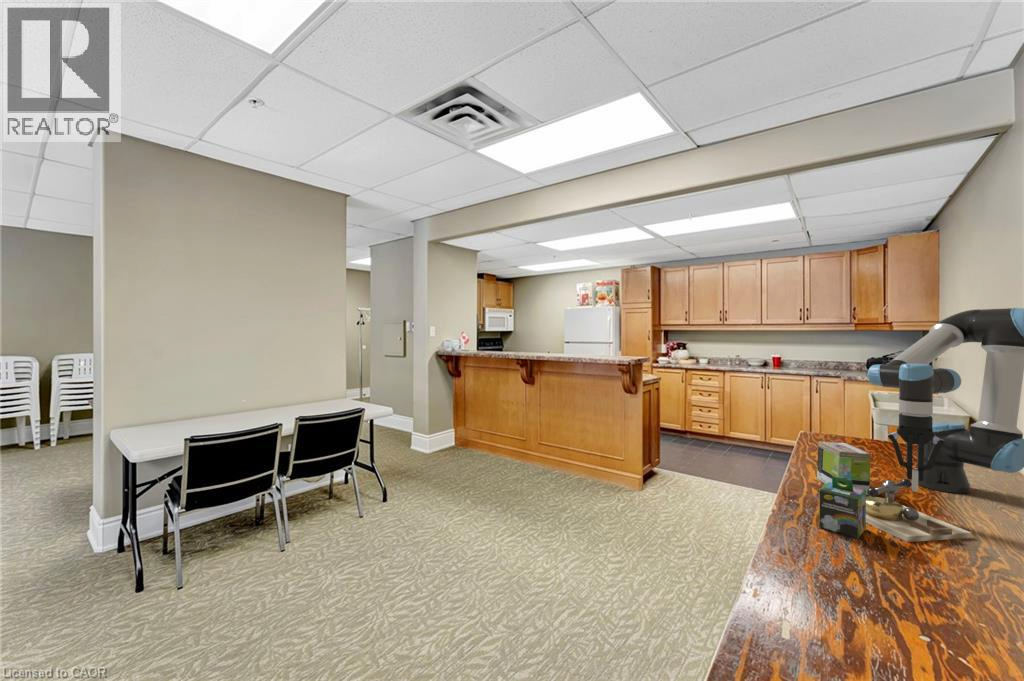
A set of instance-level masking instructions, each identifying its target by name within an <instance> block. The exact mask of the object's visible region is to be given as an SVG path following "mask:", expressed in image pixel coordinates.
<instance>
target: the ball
mask: <svg viewBox="0 0 1024 681" xmlns="http://www.w3.org/2000/svg"><path fill="white" fill-rule="evenodd" d="M917 511H918V510H916V509H915V508H912V507H908V508H905V509H904V510H903V515H904V517H905V518H906V519H908V520H911V521H915V520H917V519H918V518H919V513H918V512H919V511H918V512H917Z"/></svg>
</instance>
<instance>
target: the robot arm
mask: <svg viewBox="0 0 1024 681" xmlns="http://www.w3.org/2000/svg"><path fill="white" fill-rule="evenodd" d="M966 343H981V345H980V347H981V349H983V350H984V351H985V352H986V355H985V356H986V357H985V365H984V370H983V371H984V372H983V377H982V378H983V379H982V387H981V395H980V402H979V403H980V404H979V409H978V410H979V411H978V418H977V421H976V422H974V423H971V424H970V429H967V428H966V425H965V424H963V423H958V422H957V423H956V422H939V421H937V422H934V421H933V416H932V415H933V411H934V410H933V408H934V407H933V405H934V401H933V400H934V399H933V398H934V397H933V396H934V394H946V393H950V392H954V391H957V389H959V388H960V387H961V385H962V378H961V376H960V375H959V374H960V373H958V372H957V371H955V370H954V369H950V368H945V367H943V368H942V367H939V368H934V367H933V366H932V365H931V364H930V363H932V362H933V361H935V360H936V359H937V358H939V357H940V356H941V355H942V354H944V353H945V352H946V351H948V350H950V349H951V348H955V347H959V346H960V345H962V344H966ZM866 374H867V379H868V382H869V383H870V384H871V385H873V386H878V387H882V388H893V389H898V390H899V391H898V394H899V395H898V398H899V399H898V412H899V414H898V427H897V428H896V431H894V432H889V433H888V434H887V438H888V439H889V440H890V442H892V446H893V448H894V451H895V452H894V453H895V455H896V457H897V461H898V465H900V467H904V468H906V479H908V480H910V481H911V483H912V485H911V487H910V488H911V492H916V493H919V486H921V487H923V488H927V489H931V490H935V491H940V492H946V493H954V494H967V493H971V484H970V482H969V479H968V476H967V473H966V471H965V468H964V464H968V465H973V466H977V467H980V468H985V469H990V470H992V471H995V472H1004V473H1008V474H1010V473H1011V474H1014V473H1017V472H1020V471H1022V469H1023V470H1024V438H1023V437H1024V436H1023V435H1024V433H1023V432H1022V431H1021V430H1020V429H1019V428H1018V420H1019V411H1020V403H1021V396H1022V386H1023V381H1024V308H1022V307H1013V308H1012V307H1011V308H1009V307H1008V308H989V309H980V308H979V309H970V310H964V311H960V312H958V313H955V314H953V315H950V316H948V317H946V318H944V319H942V320H940V321H939V322H937V323H935V324H934V325H933V326H931V327H930V328H929V331H928V332H927V334H926V335H924V336H923V337H922V338H920V339H918V340H917V341H916V342H915V343H913V344H912V345H911V346H909V347H908V348H906V349H905V350H903V351H902V352H901V353H900V354H898V355H896V356H895V357H894V358H892V360H890V361H889V362H887V363H886V364H882V363H881V364H872V365H871V366H870V367H869V368H868V370H867V373H866ZM899 437H900V438H901V439H902V440H903V441H904V443H906V461H904V458H903V455H902V452H901V449H900V445H899V442H898V439H899ZM913 445H917V464H915V465H916V466H915V467H913V450H914V449H913Z"/></svg>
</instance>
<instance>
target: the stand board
mask: <svg viewBox="0 0 1024 681" xmlns="http://www.w3.org/2000/svg"><path fill="white" fill-rule="evenodd" d="M901 505H902V506H903V510H904V509H905V508H909V507H908V506H905V505H903V504H901ZM916 511H917V512H918V513H919V518H918V519H917V520H915V521H911V520H908V519H906V518H905V517H904V515H903V518H902V519H901V520H887V519H882V518H878V517H874V516H872V515H869V514H867V513H866V524H867V525H870V526H872V527H874V528H876V529H878V530H881V531H883V532H885V533H887V534H889V535H891V536H893V537H896V538H897V539H900V540H902V541H904V542H906V543H912V542H927V541H928V542H929V541H942V540H944V541H945V540H960V539H971V538H972V532H971V531H968V530H966V529H964V528H961V527H959V526H956V525H955V524H951V523H948V522H946V521H943V520H941V519H938V518H936V517H933V516H931V515H928V514H925V513H923V512H921V511H918V510H916Z"/></svg>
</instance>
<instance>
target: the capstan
mask: <svg viewBox="0 0 1024 681" xmlns="http://www.w3.org/2000/svg"><path fill="white" fill-rule="evenodd" d="M911 485H912V483H911V479H908V478H902V479H901V480H900V481H899V482H895V481H894V480H890V479H886V480H885V481H882V482H881V486H879V487H878V488H874V487H870V488H869V489H868V490H867V494H868V495H867V496H866V513H867V514H869V515H872V516H874V517H878V518H882V519H887V520H901V519H902V518H903V506H904V505H903V504H901V503H899V502H897V501H895V495H898V494H899V489H901V488H911ZM883 493H884V494H885V495H884V496H885V497H880V496H879V495H882V494H883ZM902 505H903V506H902Z"/></svg>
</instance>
